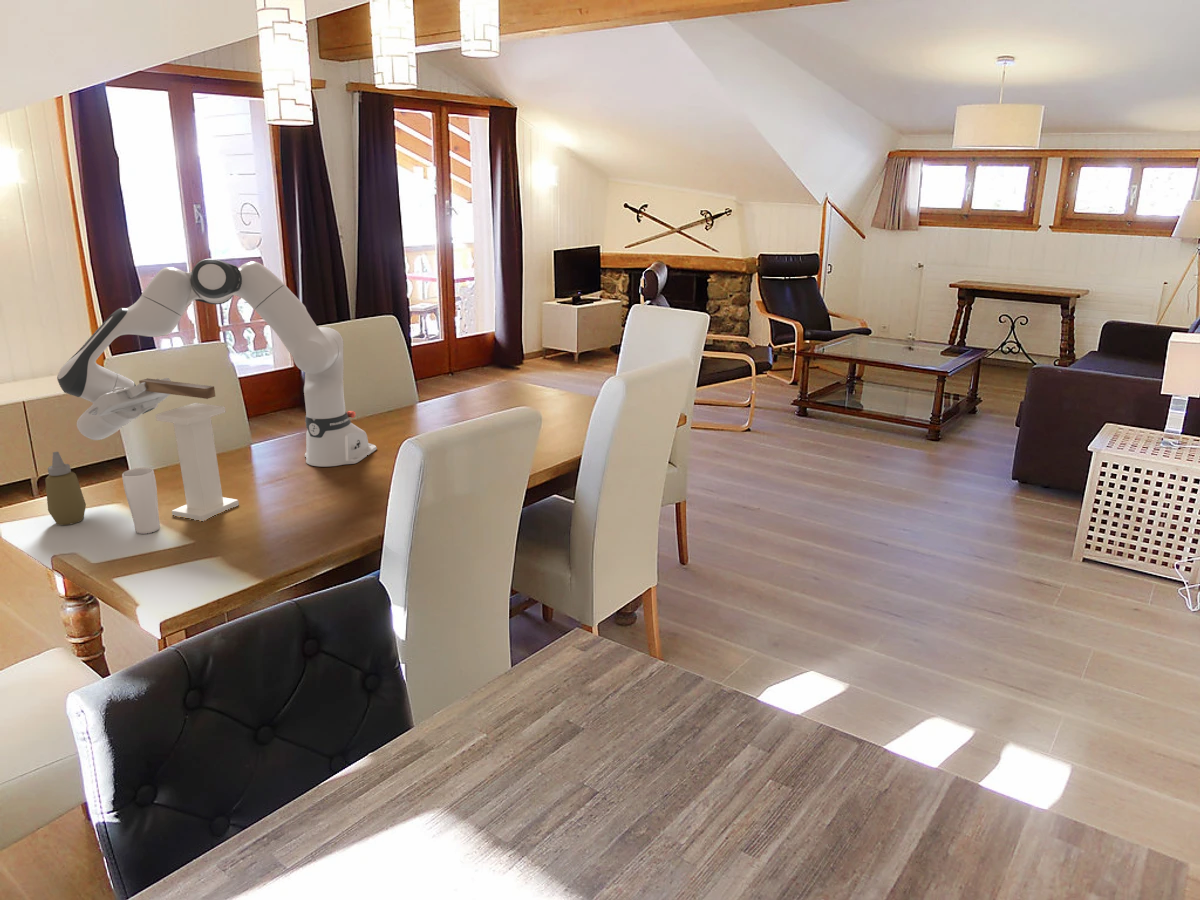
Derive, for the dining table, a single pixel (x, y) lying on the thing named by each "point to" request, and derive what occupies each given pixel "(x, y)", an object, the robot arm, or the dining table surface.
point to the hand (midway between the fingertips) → (151, 383)
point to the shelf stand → (198, 460)
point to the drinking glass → (142, 499)
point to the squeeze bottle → (64, 493)
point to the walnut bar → (179, 388)
